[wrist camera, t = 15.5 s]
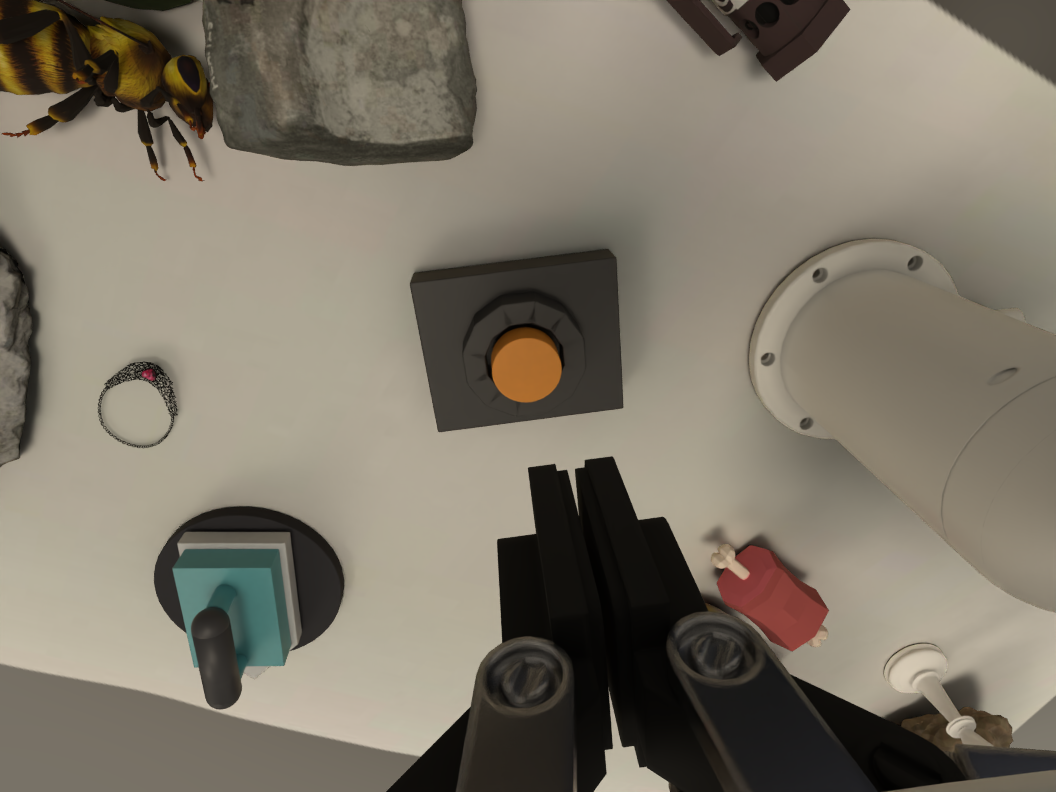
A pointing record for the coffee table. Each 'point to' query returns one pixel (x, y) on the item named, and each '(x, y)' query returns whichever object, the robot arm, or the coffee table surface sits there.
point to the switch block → (512, 302)
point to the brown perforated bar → (767, 27)
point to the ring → (150, 375)
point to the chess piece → (930, 686)
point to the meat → (771, 596)
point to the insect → (99, 70)
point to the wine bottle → (151, 3)
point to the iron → (237, 606)
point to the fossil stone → (13, 356)
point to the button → (525, 364)
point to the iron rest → (310, 556)
